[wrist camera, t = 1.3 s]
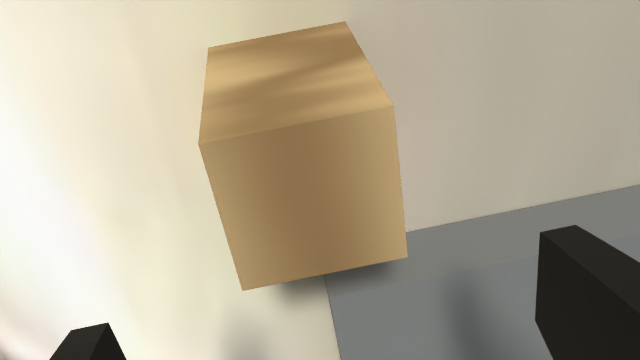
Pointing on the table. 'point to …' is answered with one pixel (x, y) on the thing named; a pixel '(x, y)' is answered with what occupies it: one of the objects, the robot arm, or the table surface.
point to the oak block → (301, 156)
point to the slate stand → (468, 284)
